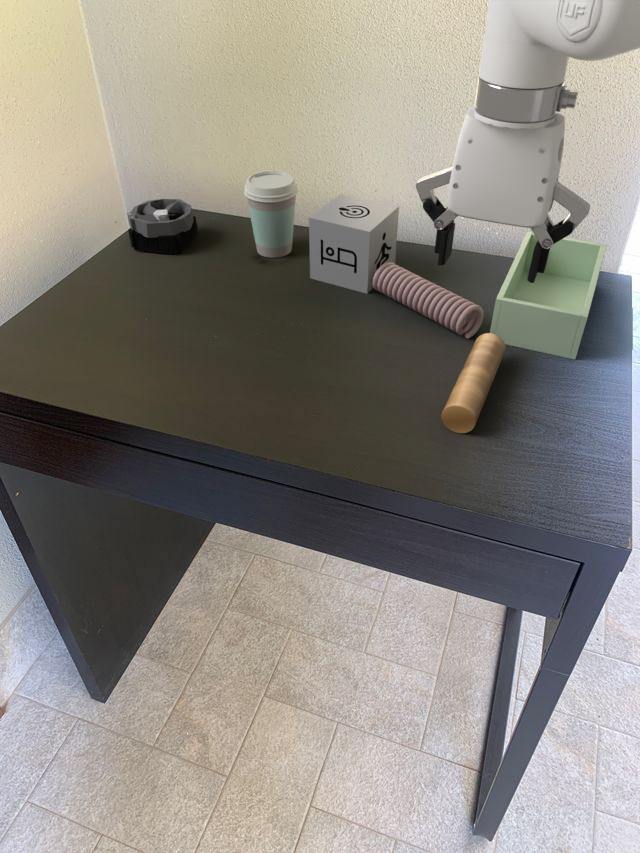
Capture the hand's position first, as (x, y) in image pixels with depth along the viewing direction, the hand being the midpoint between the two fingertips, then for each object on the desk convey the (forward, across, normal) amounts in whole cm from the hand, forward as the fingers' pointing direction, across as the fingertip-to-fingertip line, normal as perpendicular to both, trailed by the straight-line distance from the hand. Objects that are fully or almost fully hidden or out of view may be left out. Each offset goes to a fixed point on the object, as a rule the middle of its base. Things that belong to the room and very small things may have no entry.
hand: (487, 268), depth 74 cm
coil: (+18, +10, -16) cm, 26 cm away
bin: (+17, -6, -23) cm, 29 cm away
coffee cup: (+18, +39, -25) cm, 50 cm away
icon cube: (+18, +24, -23) cm, 38 cm away
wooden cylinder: (+17, -2, 0) cm, 17 cm away
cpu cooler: (+18, +58, -21) cm, 64 cm away
